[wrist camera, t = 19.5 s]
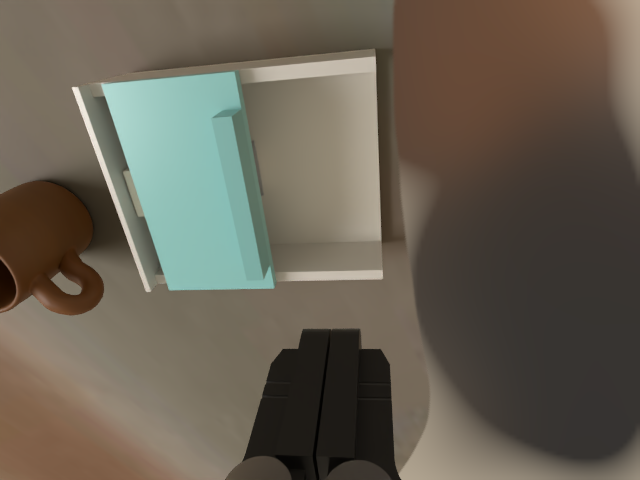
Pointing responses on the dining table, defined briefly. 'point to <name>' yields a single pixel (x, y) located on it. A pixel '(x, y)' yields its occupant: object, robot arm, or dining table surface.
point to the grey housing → (281, 163)
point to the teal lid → (195, 178)
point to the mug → (45, 248)
